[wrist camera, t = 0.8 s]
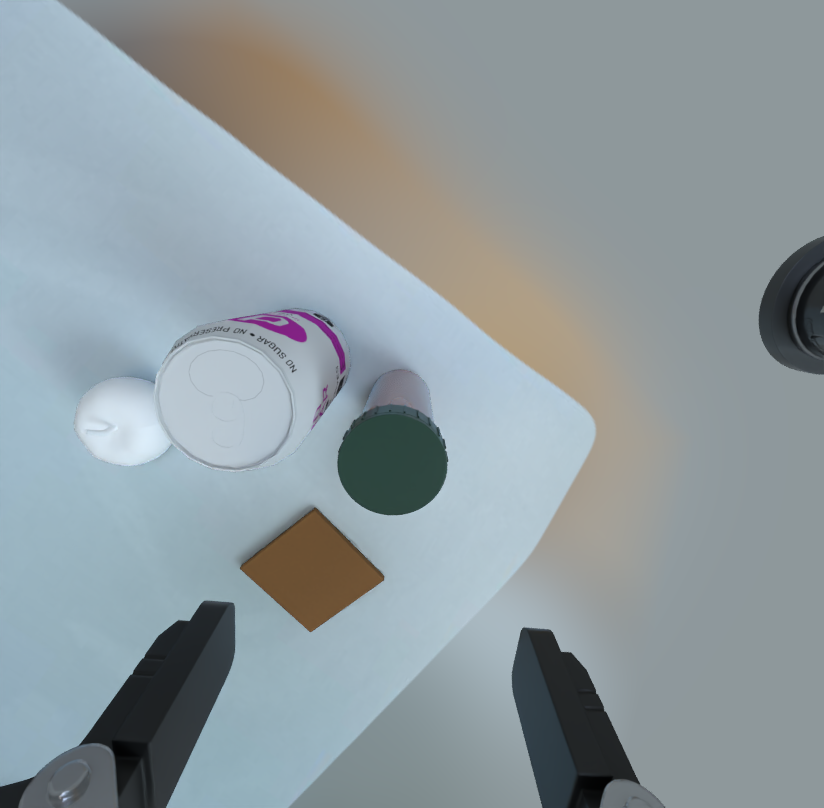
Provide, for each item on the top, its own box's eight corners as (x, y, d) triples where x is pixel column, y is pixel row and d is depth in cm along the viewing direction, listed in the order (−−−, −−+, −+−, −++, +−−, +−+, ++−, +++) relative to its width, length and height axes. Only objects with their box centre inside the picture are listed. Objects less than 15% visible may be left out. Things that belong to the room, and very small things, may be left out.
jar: (403, 356, 34) (398, 398, 21) (442, 402, 36) (459, 468, 22) (358, 394, 35) (326, 457, 22) (396, 437, 36) (387, 521, 23)
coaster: (315, 507, 38) (314, 510, 38) (384, 576, 40) (384, 580, 40) (241, 564, 40) (239, 568, 40) (311, 628, 42) (310, 632, 42)
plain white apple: (187, 364, 35) (122, 386, 27) (205, 442, 37) (149, 483, 29) (106, 371, 35) (20, 394, 27) (129, 448, 37) (54, 490, 29)
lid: (400, 381, 23) (399, 390, 21) (466, 459, 24) (471, 473, 22) (320, 446, 24) (313, 460, 22) (388, 517, 25) (386, 535, 23)
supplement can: (256, 301, 33) (136, 312, 19) (356, 316, 34) (313, 337, 19) (253, 396, 35) (143, 471, 21) (347, 409, 36) (302, 491, 21)
